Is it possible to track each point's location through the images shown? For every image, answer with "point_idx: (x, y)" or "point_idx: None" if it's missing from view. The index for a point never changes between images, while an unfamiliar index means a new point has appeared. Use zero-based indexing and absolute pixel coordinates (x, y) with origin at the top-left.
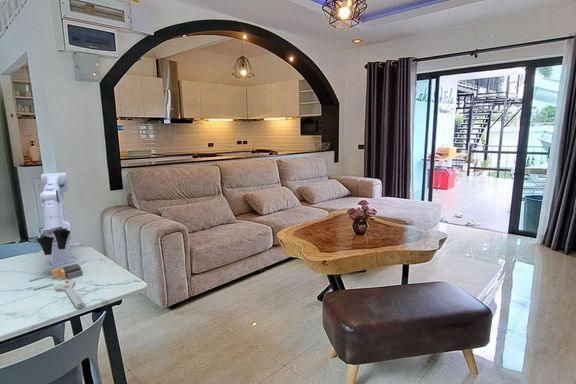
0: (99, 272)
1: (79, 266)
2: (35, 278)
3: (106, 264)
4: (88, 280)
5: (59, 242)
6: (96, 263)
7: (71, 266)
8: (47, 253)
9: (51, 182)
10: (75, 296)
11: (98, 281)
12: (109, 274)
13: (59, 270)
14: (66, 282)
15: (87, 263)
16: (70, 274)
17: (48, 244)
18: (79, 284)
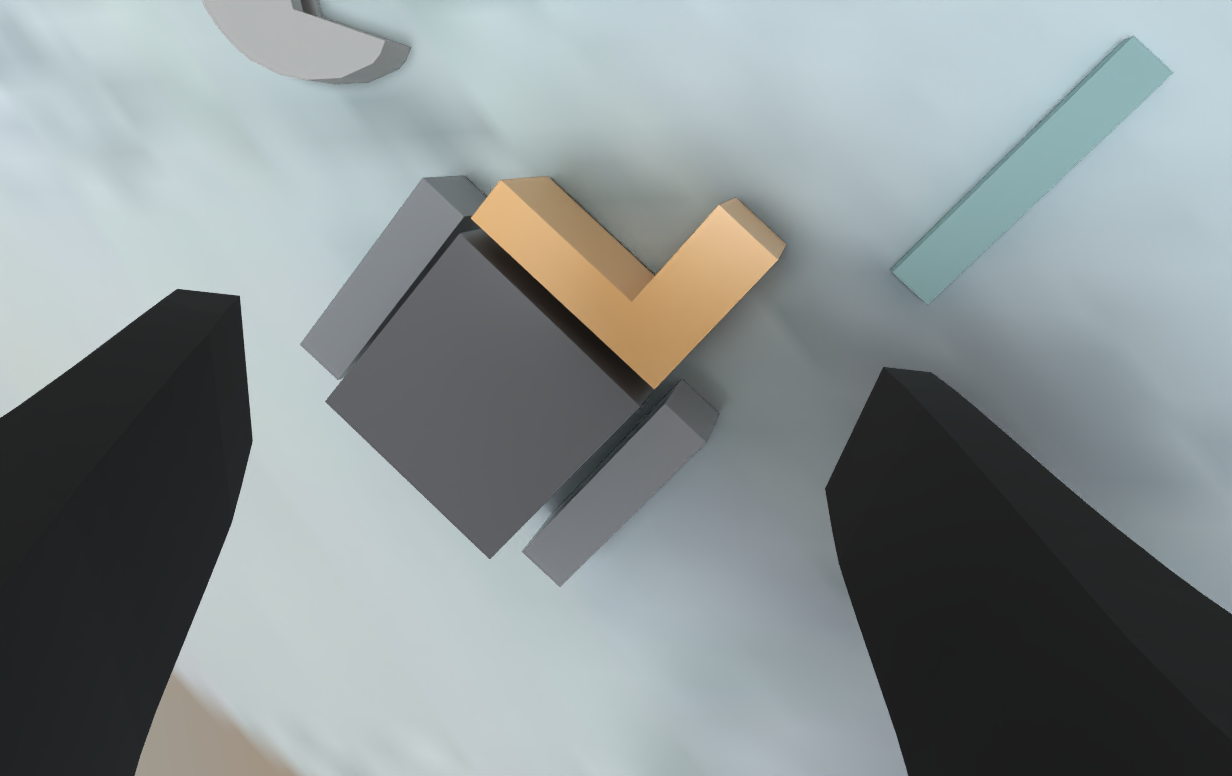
0: None
1: (362, 428)
2: (1077, 149)
3: (298, 702)
4: (165, 176)
5: (4, 421)
6: (461, 753)
7: (504, 431)
8: (873, 422)
9: None
10: None
11: (18, 151)
12: (39, 374)
13: (641, 292)
14: (381, 38)
15: (597, 770)
16: (400, 210)
17: (989, 773)
18: (190, 34)
